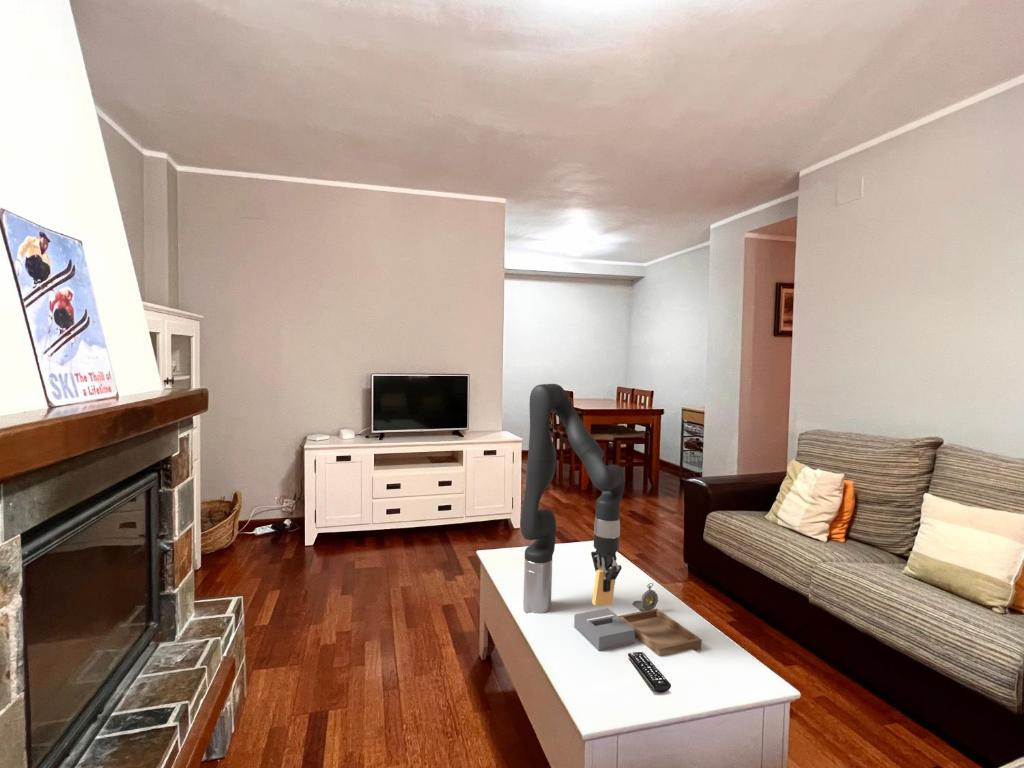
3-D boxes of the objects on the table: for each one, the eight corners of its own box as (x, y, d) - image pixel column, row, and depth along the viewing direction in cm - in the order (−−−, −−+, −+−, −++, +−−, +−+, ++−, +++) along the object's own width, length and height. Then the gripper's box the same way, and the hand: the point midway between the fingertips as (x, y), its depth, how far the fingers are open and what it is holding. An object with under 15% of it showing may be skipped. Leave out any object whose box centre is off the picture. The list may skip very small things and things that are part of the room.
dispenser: (574, 630, 156) (574, 613, 155) (607, 623, 160) (607, 606, 160) (598, 654, 143) (599, 635, 143) (634, 646, 147) (634, 628, 147)
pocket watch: (635, 601, 176) (636, 573, 176) (659, 608, 172) (660, 578, 171) (627, 611, 169) (628, 581, 169) (653, 618, 165) (654, 587, 164)
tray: (617, 625, 159) (618, 616, 159) (656, 617, 165) (657, 608, 165) (659, 659, 141) (659, 649, 141) (701, 649, 147) (701, 639, 146)
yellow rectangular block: (591, 603, 151) (596, 569, 151) (608, 602, 153) (613, 569, 153) (594, 605, 149) (599, 571, 149) (611, 604, 151) (616, 571, 152)
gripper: (584, 526, 155) (582, 582, 156) (608, 541, 143) (606, 602, 143) (604, 524, 158) (602, 579, 159) (631, 538, 146) (628, 598, 146)
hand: (604, 590), depth 151 cm, fingers closed on yellow rectangular block, 1 cm apart
